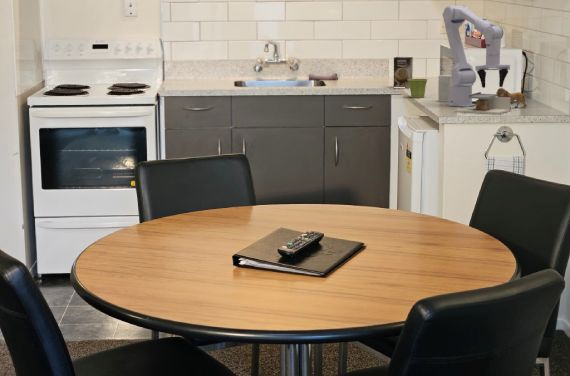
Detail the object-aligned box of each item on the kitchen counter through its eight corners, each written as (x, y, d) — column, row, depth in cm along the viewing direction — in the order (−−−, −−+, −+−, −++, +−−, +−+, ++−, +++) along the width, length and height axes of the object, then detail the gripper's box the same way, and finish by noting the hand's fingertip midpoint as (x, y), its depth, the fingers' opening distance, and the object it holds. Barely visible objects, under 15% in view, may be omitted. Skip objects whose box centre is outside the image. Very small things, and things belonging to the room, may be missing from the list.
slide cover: (468, 98, 402) (468, 94, 402) (479, 95, 411) (479, 92, 411) (486, 99, 398) (486, 95, 398) (496, 96, 407) (496, 92, 406)
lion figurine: (499, 110, 409) (500, 88, 407) (493, 108, 414) (493, 87, 412) (530, 107, 413) (530, 86, 412) (523, 106, 418) (524, 85, 417)
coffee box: (393, 88, 502) (393, 57, 498) (395, 87, 508) (395, 56, 504) (410, 88, 499) (410, 57, 495) (412, 87, 505) (412, 56, 501)
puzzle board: (454, 112, 406) (454, 98, 405) (466, 108, 416) (466, 95, 415) (499, 114, 395) (499, 100, 394) (510, 111, 405) (510, 97, 403)
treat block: (475, 112, 405) (476, 100, 404) (479, 110, 408) (479, 99, 407) (484, 112, 403) (485, 100, 402) (488, 111, 406) (488, 99, 405)
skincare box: (454, 101, 442) (454, 75, 440) (449, 102, 439) (449, 76, 437) (442, 100, 446) (443, 74, 444) (437, 101, 443) (438, 75, 441)
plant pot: (404, 97, 463) (404, 79, 461) (421, 96, 467) (421, 78, 465) (413, 99, 455) (413, 80, 453) (431, 97, 458) (431, 79, 456)
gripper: (479, 56, 401) (478, 88, 403) (512, 55, 402) (512, 87, 405) (474, 55, 407) (473, 87, 410) (506, 53, 409) (506, 85, 412)
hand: (492, 87), depth 408 cm, fingers open, 7 cm apart
